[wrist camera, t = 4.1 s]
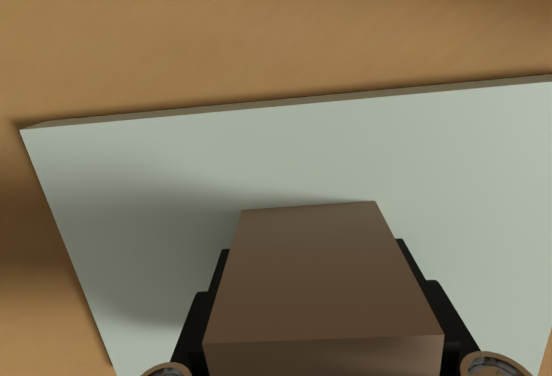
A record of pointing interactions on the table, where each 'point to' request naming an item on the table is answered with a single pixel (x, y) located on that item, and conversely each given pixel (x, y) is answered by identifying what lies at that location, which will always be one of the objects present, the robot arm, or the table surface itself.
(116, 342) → the shelf board
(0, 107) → the table surface
